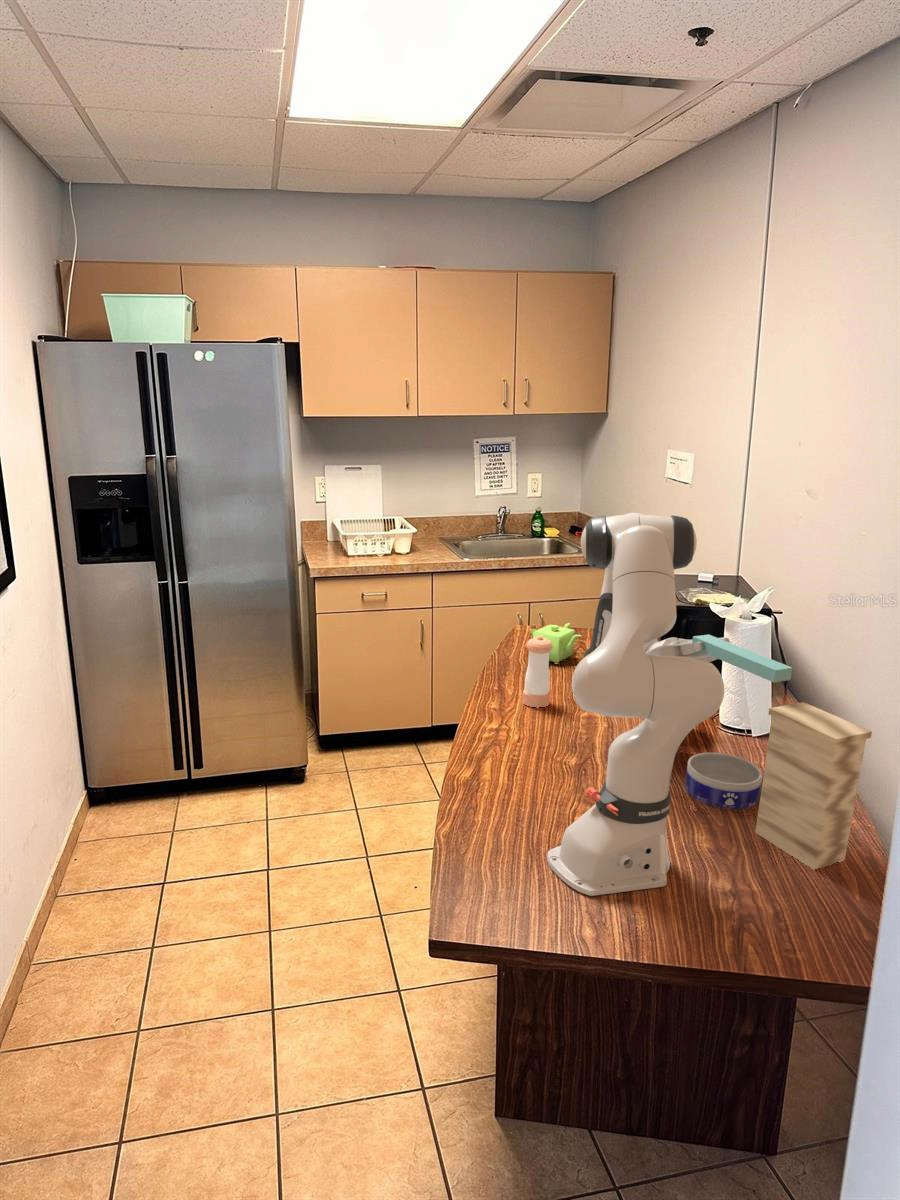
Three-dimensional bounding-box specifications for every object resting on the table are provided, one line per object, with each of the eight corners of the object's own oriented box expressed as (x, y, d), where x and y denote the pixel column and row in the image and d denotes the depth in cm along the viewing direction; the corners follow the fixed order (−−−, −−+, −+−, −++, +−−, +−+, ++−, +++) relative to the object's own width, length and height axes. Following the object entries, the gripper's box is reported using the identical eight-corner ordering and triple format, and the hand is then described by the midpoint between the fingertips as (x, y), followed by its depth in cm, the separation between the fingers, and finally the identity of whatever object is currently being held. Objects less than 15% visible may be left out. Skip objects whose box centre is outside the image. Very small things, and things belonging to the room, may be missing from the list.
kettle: (567, 651, 268) (570, 618, 265) (582, 666, 254) (585, 631, 251) (523, 653, 265) (525, 619, 262) (536, 667, 251) (539, 632, 248)
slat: (773, 682, 158) (775, 670, 157) (691, 647, 178) (692, 636, 177) (790, 679, 160) (792, 667, 159) (707, 645, 180) (708, 634, 179)
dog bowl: (747, 779, 183) (751, 754, 182) (768, 813, 168) (772, 786, 167) (678, 774, 184) (681, 749, 183) (693, 807, 169) (696, 781, 168)
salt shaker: (518, 705, 220) (522, 637, 216) (527, 696, 227) (531, 630, 222) (544, 710, 218) (549, 641, 213) (552, 701, 224) (557, 634, 219)
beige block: (814, 872, 147) (836, 739, 141) (751, 831, 160) (769, 708, 154) (848, 861, 151) (871, 731, 145) (784, 823, 164) (803, 701, 158)
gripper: (632, 649, 184) (671, 634, 171) (702, 639, 192) (743, 625, 180) (638, 676, 182) (678, 663, 170) (709, 665, 191) (751, 653, 179)
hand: (712, 644), depth 175 cm, fingers closed on slat, 4 cm apart
